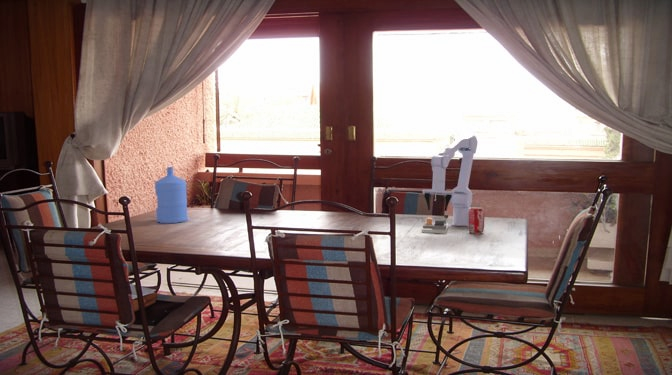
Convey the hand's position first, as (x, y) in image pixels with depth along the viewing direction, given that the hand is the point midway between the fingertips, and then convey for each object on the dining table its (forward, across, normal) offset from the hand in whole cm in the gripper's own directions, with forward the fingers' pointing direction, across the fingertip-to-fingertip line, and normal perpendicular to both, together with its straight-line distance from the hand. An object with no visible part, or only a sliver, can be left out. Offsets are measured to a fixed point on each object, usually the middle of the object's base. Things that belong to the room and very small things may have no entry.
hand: (437, 210), depth 290 cm
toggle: (+7, +2, +10) cm, 12 cm away
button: (+7, +1, 0) cm, 7 cm away
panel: (+10, -1, +5) cm, 11 cm away
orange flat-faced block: (+8, -4, +7) cm, 11 cm away
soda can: (+10, +18, +1) cm, 21 cm away
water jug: (+15, -136, -9) cm, 137 cm away
